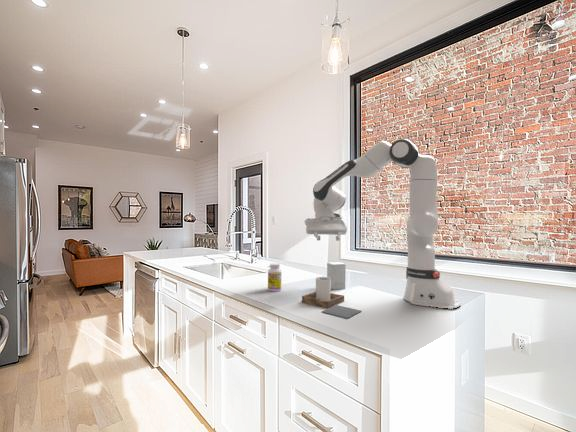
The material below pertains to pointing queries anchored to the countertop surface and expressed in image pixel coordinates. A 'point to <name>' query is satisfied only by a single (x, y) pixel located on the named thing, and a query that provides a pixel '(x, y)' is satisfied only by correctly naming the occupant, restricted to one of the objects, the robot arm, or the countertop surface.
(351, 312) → the charcoal mat
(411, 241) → the robot arm
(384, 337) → the countertop surface
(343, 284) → the supplement box
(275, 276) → the supplement bottle
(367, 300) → the countertop surface
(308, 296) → the walnut tray
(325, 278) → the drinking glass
